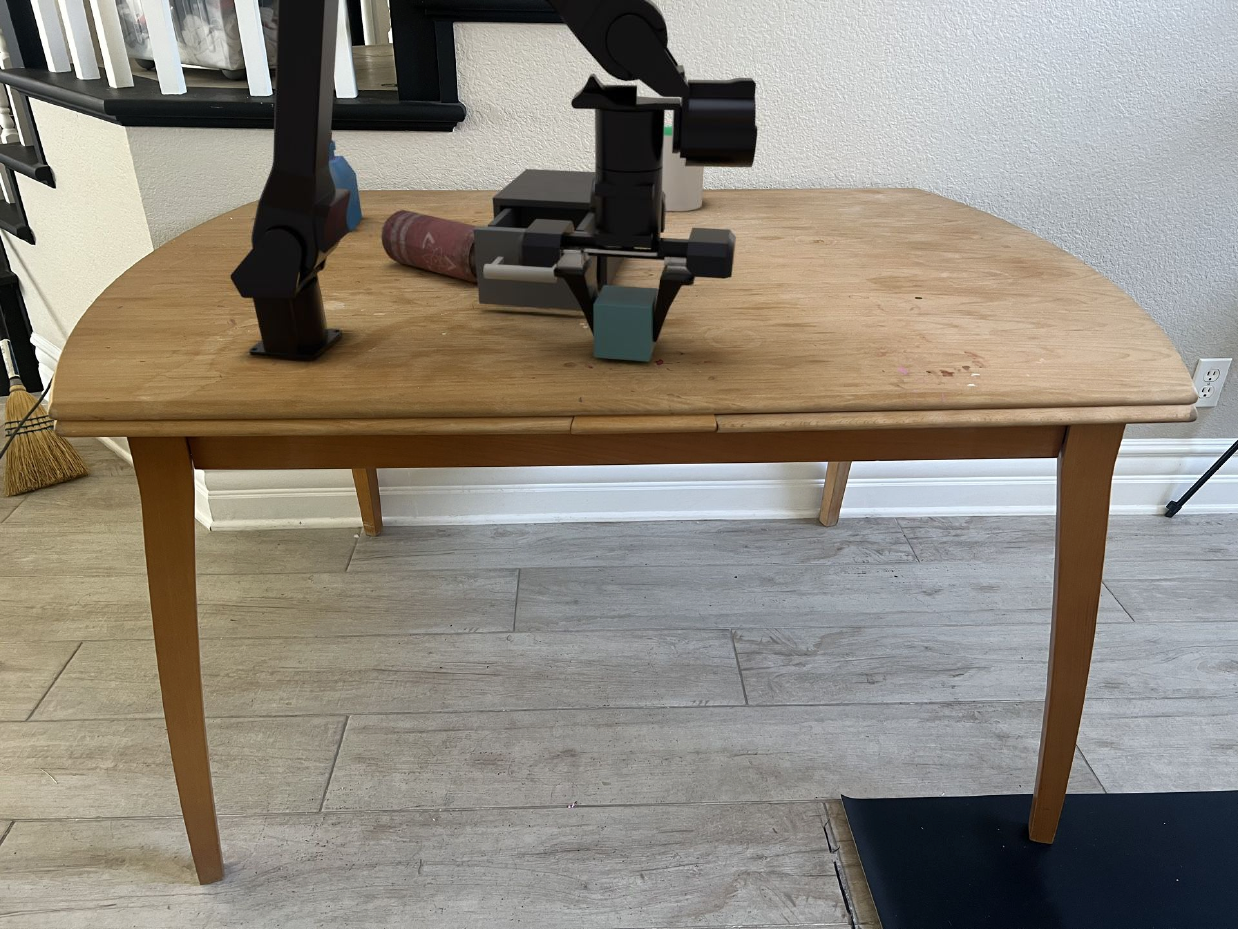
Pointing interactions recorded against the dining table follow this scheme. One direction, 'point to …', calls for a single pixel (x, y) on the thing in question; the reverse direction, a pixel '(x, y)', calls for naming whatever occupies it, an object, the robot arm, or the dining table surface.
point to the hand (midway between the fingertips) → (626, 338)
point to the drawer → (513, 281)
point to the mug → (680, 179)
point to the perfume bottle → (345, 184)
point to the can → (431, 244)
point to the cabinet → (555, 201)
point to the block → (624, 323)
